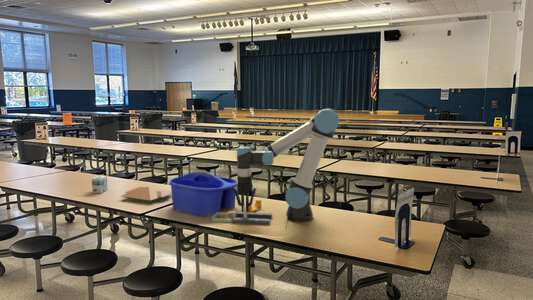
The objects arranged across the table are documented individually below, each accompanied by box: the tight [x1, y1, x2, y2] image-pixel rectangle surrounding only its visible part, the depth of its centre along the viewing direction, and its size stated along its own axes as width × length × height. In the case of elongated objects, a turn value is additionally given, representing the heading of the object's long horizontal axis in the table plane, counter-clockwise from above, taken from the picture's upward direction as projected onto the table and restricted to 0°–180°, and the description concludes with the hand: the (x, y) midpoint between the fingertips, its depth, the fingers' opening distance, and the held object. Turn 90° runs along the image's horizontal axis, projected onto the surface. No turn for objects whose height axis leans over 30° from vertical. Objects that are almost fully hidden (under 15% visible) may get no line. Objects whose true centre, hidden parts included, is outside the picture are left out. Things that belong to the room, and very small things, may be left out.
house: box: [121, 186, 172, 205], centre depth 253 cm, size 23×33×8 cm
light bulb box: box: [91, 175, 108, 194], centre depth 270 cm, size 11×7×11 cm, turn 179°
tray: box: [210, 211, 232, 223], centre depth 207 cm, size 12×12×3 cm
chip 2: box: [227, 210, 237, 219], centre depth 206 cm, size 4×4×4 cm
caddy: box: [169, 170, 238, 217], centre depth 230 cm, size 32×45×23 cm
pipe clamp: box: [249, 198, 262, 213], centre depth 222 cm, size 12×4×6 cm, turn 145°
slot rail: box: [231, 211, 273, 226], centre depth 204 cm, size 20×13×4 cm, turn 82°
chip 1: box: [220, 211, 229, 219], centre depth 206 cm, size 4×4×4 cm
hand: (245, 217), depth 205 cm, fingers closed
